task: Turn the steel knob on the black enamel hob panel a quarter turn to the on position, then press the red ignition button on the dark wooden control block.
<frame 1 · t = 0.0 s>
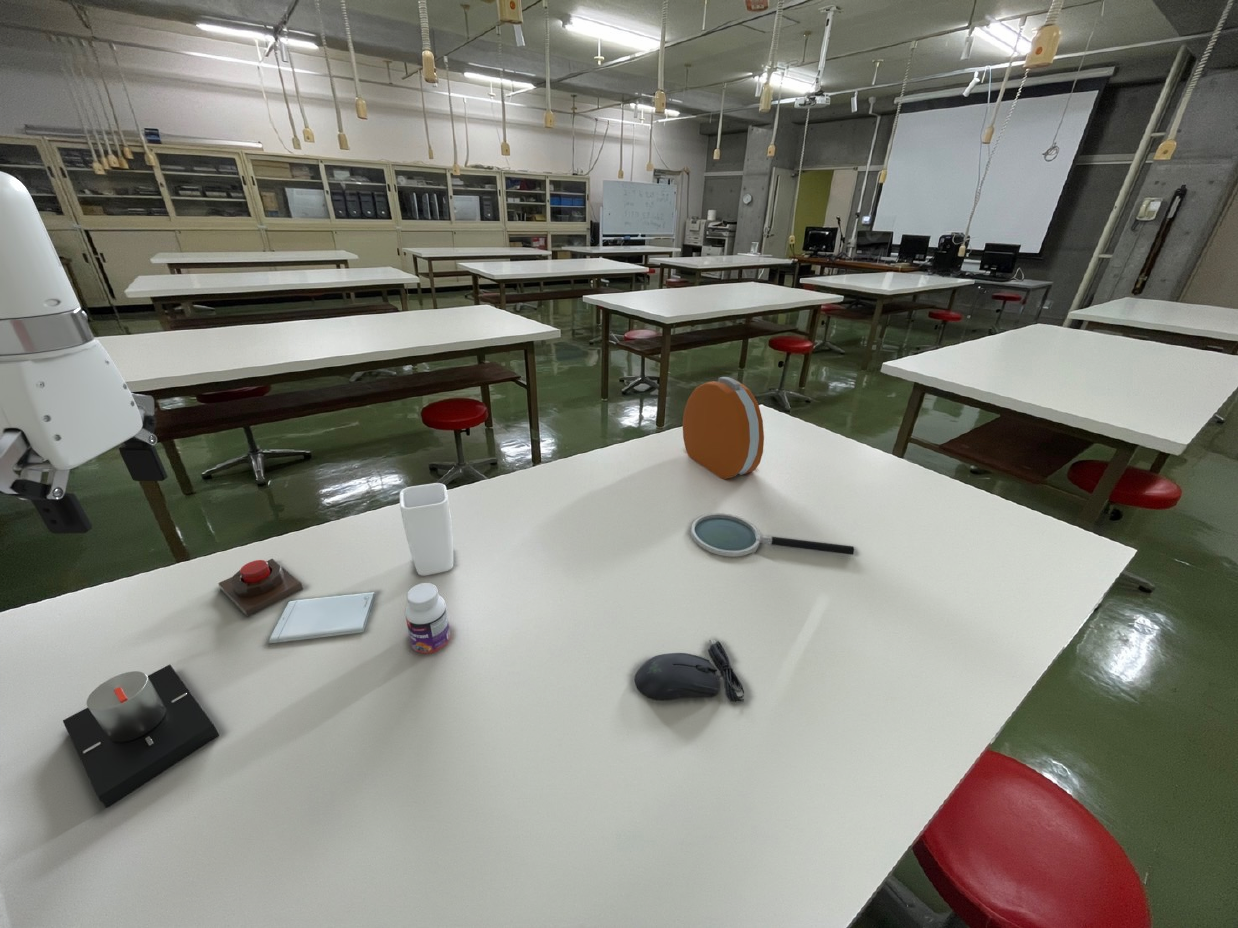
hand: (115, 503, 50), 29 cm above the table, tool pointing down, fingers open, 9 cm apart
hob: (148, 738, 59), on the table
ignition: (263, 593, 81), on the table
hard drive: (327, 622, 76), on the table
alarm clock: (719, 463, 129), on the table
hob knob: (127, 705, 56), point 6 cm above the table, hinge at 0.0°
pill bottle: (432, 643, 73), on the table
magnifying glass: (769, 545, 98), on the table
cup: (435, 567, 88), on the table
computer mouse: (684, 681, 69), on the table
ignition button: (255, 571, 79), point 5 cm above the table, slide at 0.2 cm
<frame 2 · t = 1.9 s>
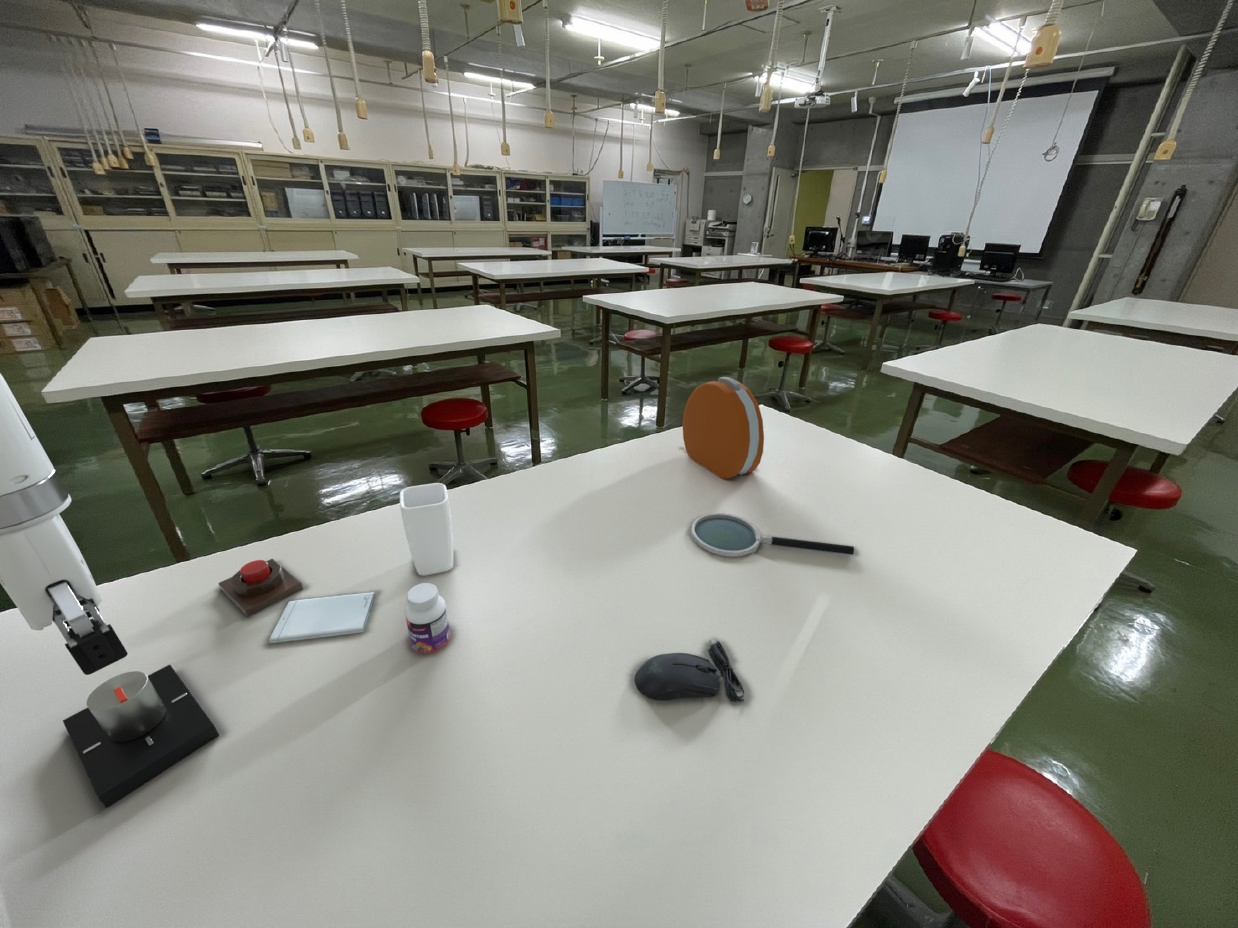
hand: (93, 641, 52), 16 cm above the table, tool pointing down, fingers open, 9 cm apart
nothing on the table moved.
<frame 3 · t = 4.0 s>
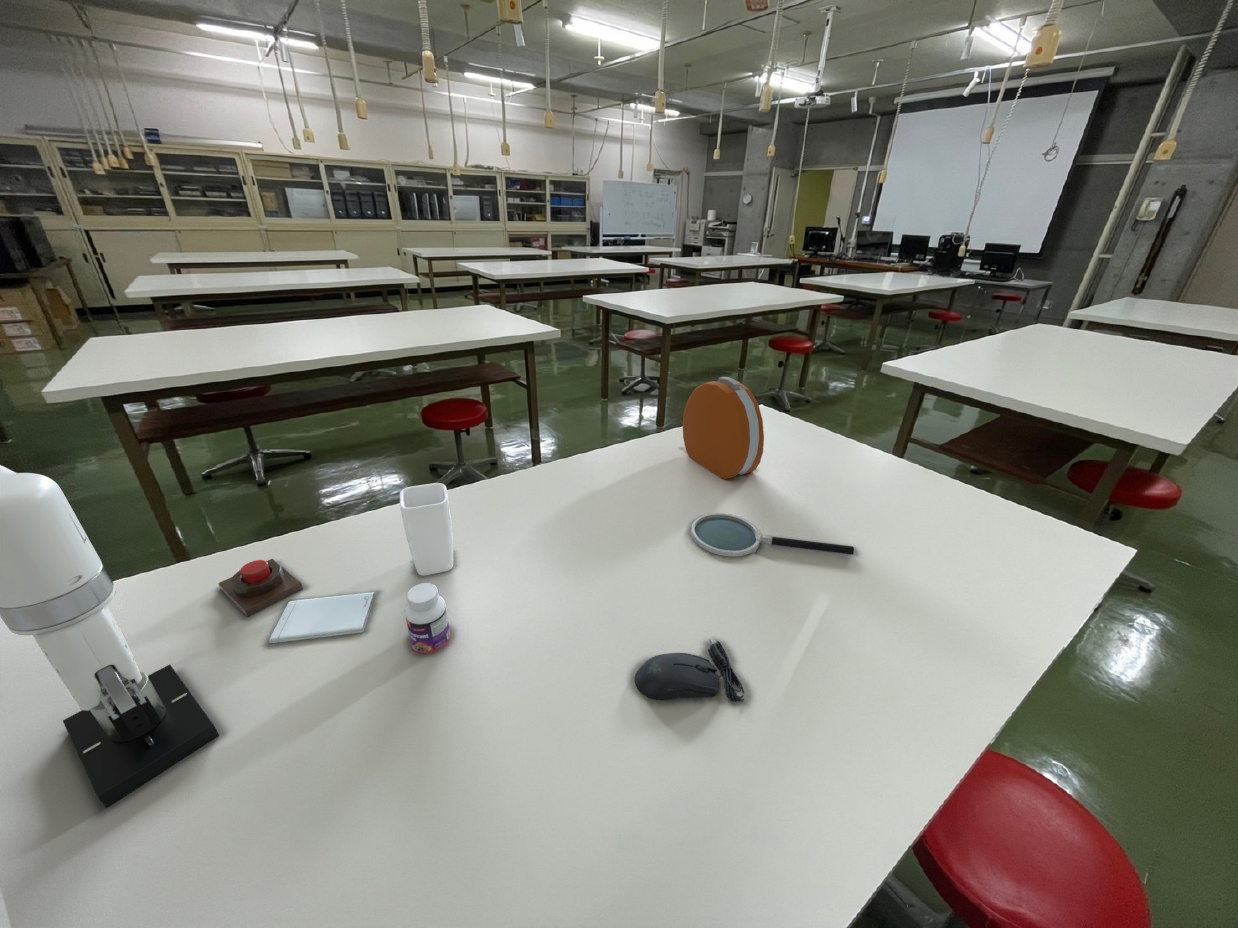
hand: (133, 715, 57), 4 cm above the table, tool pointing down, fingers closed on hob knob, 5 cm apart
hob knob: (127, 705, 56), point 6 cm above the table, hinge at -0.2°, touching gripper
everything else where it was.
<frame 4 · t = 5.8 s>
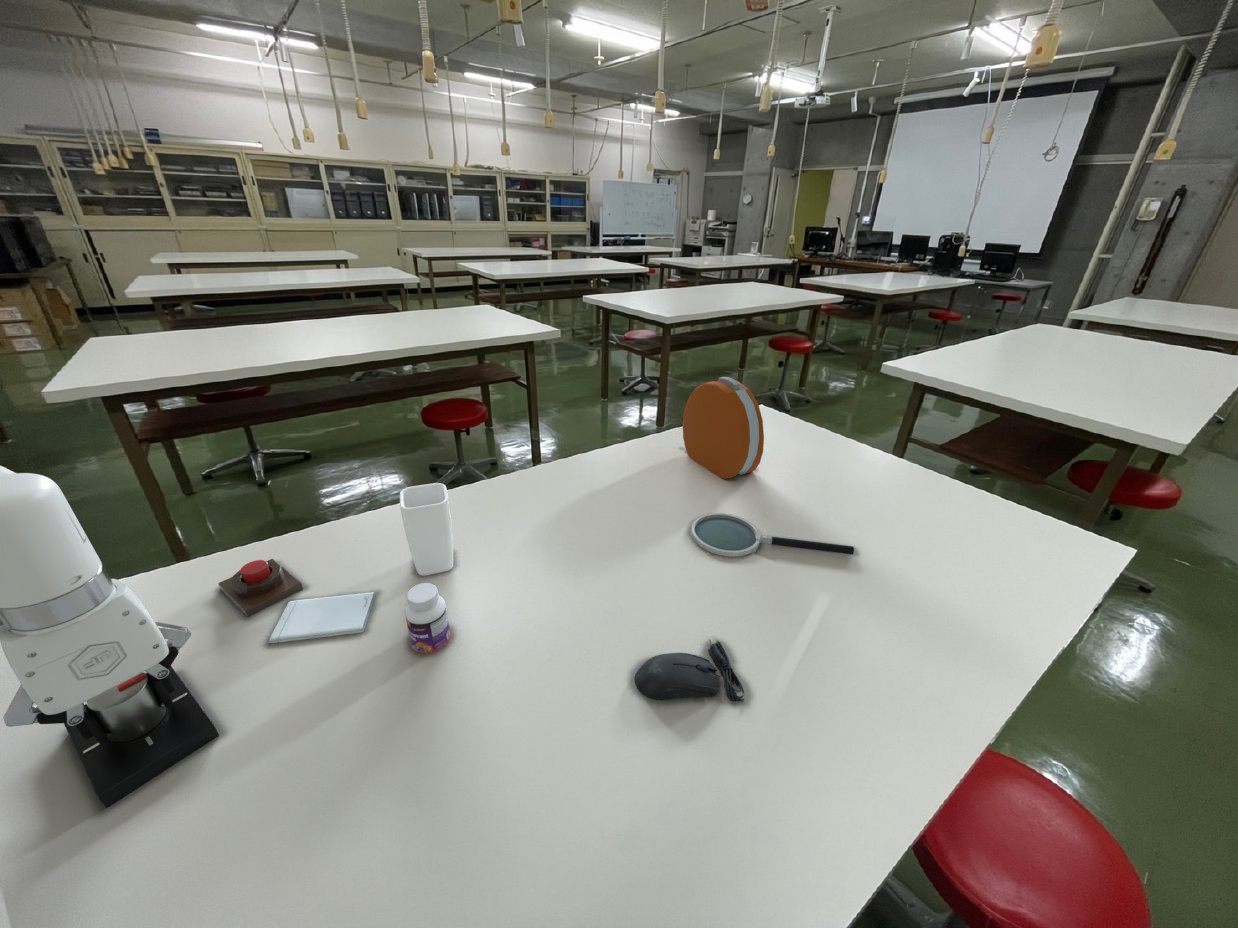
hand: (134, 715, 57), 4 cm above the table, tool pointing down, fingers closed on hob knob, 5 cm apart
hob knob: (127, 705, 56), point 6 cm above the table, hinge at 90.1°, touching gripper
everything else where it was.
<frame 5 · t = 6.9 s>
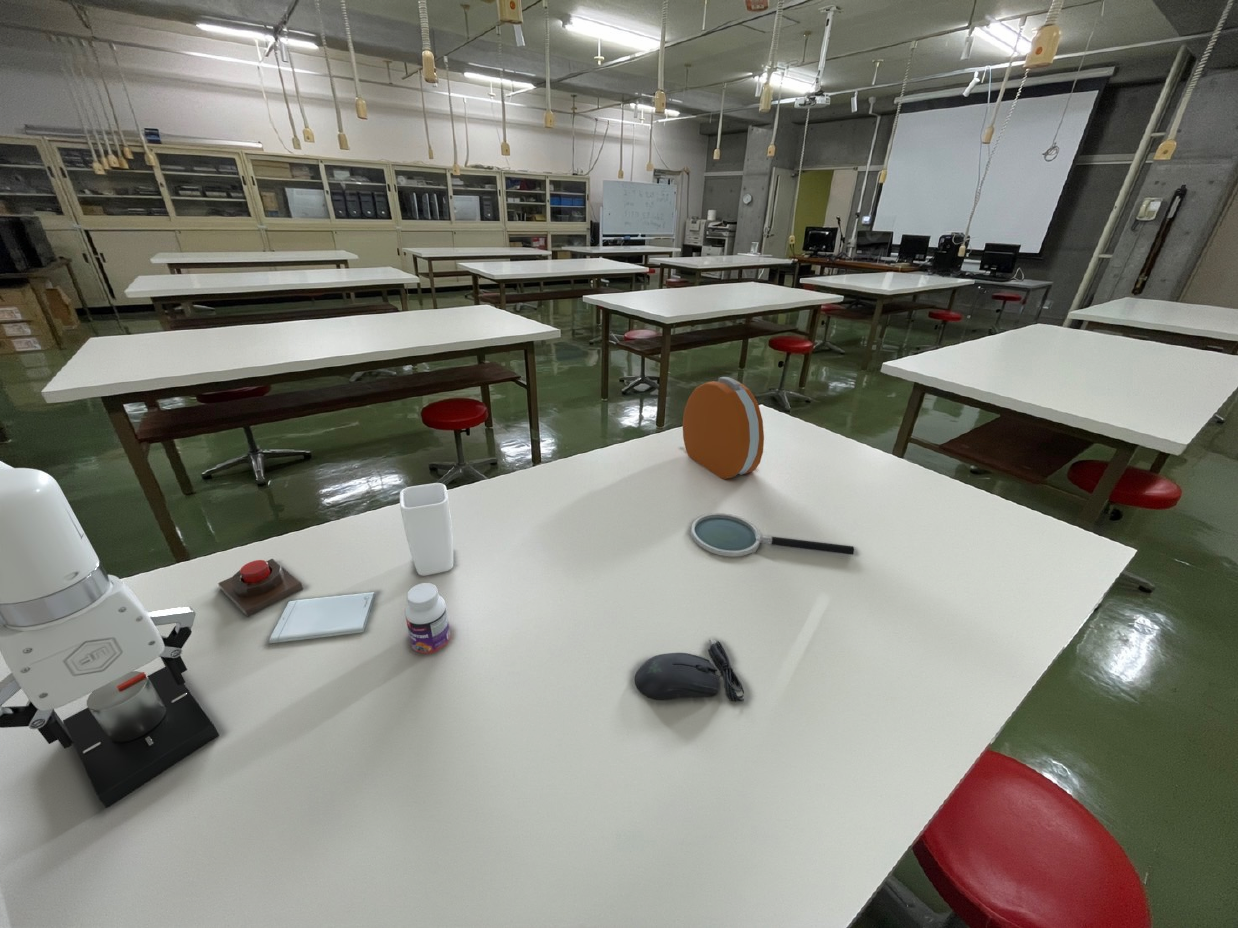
hand: (125, 706, 56), 6 cm above the table, tool pointing down, fingers open, 9 cm apart
hob knob: (127, 705, 56), point 6 cm above the table, hinge at 91.6°
everything else where it was.
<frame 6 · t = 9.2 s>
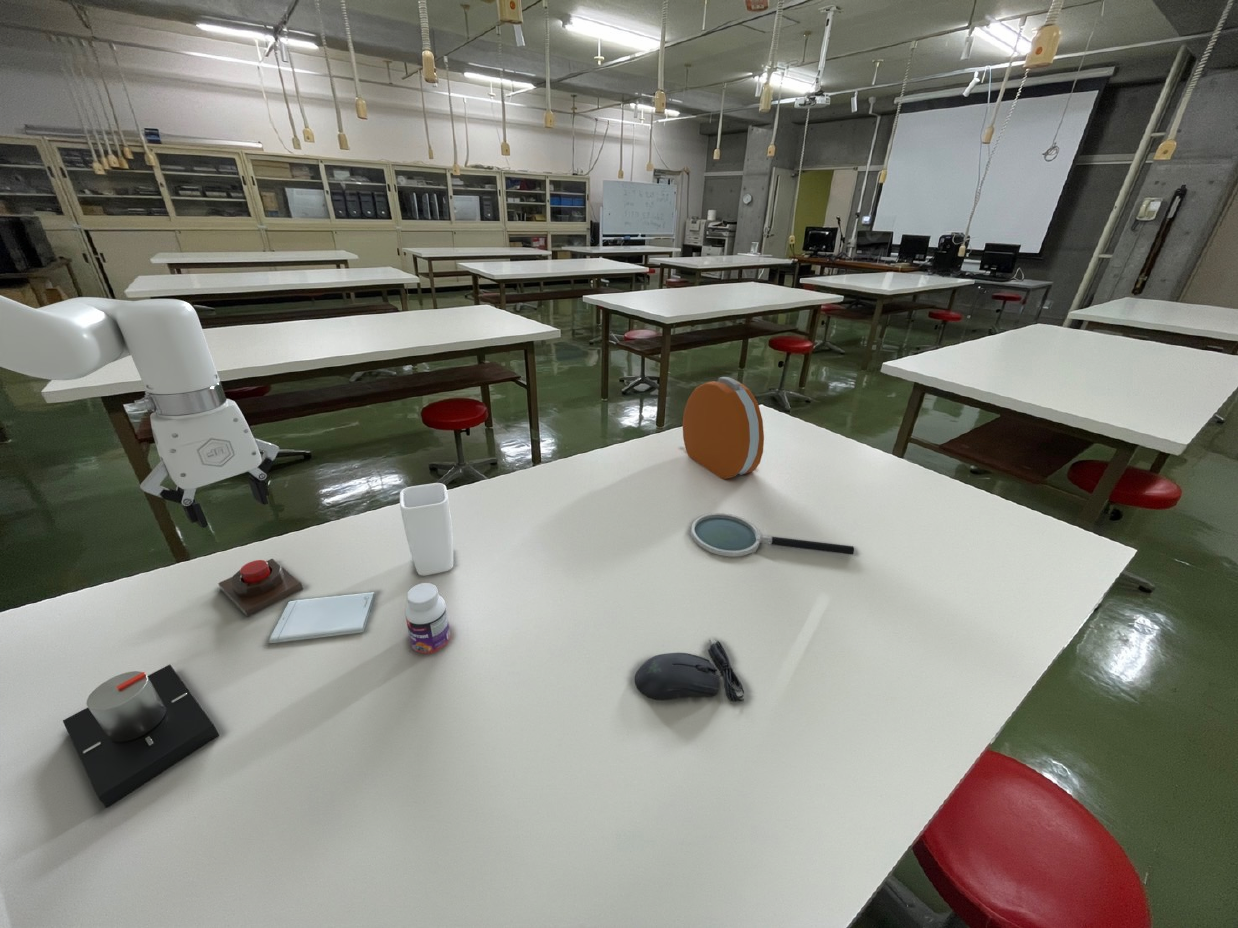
hand: (232, 511, 74), 16 cm above the table, tool pointing down, fingers open, 7 cm apart
nothing on the table moved.
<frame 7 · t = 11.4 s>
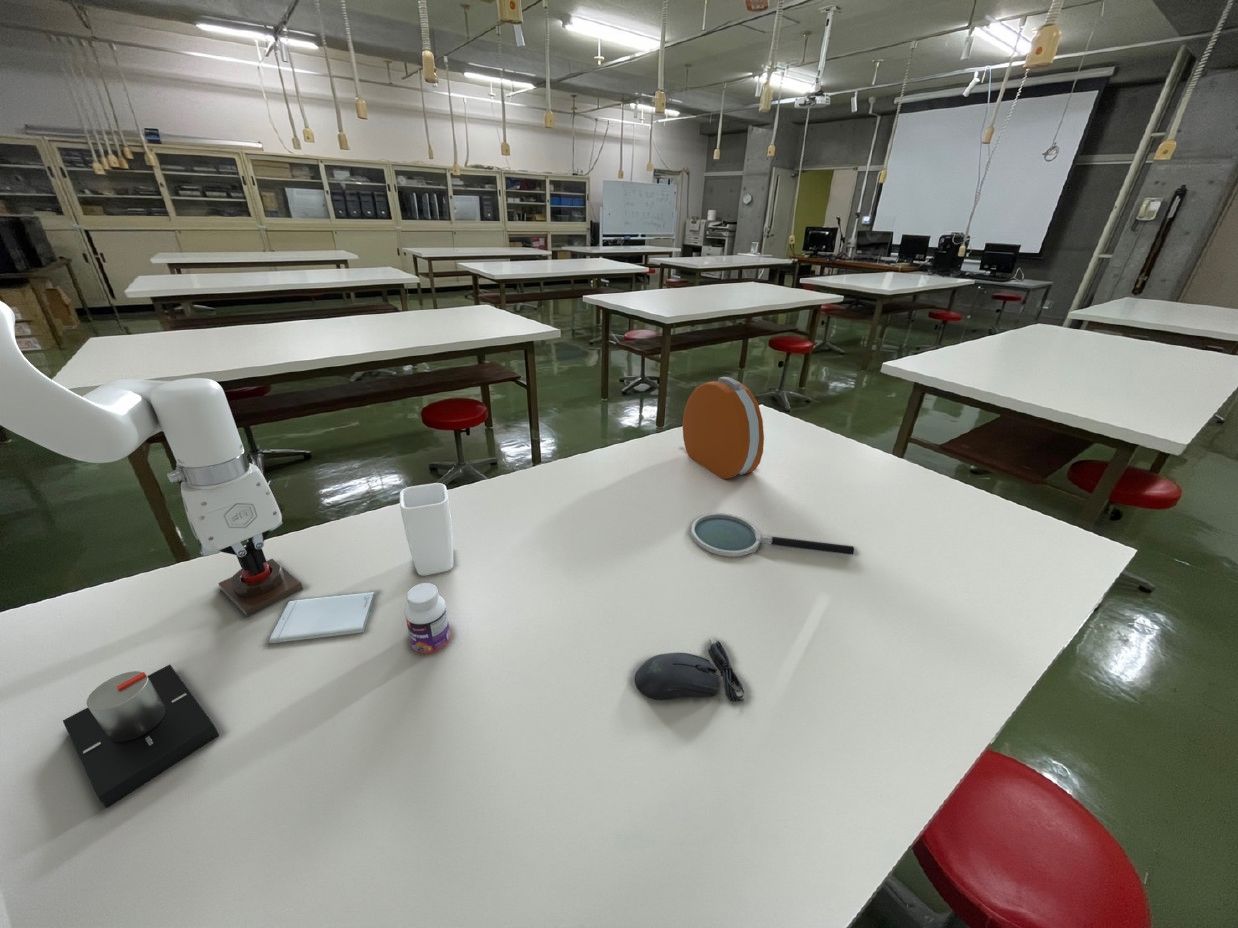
hand: (255, 569, 79), 5 cm above the table, tool pointing down, fingers closed
ignition button: (256, 574, 79), point 4 cm above the table, slide at -0.4 cm, touching gripper
everything else where it was.
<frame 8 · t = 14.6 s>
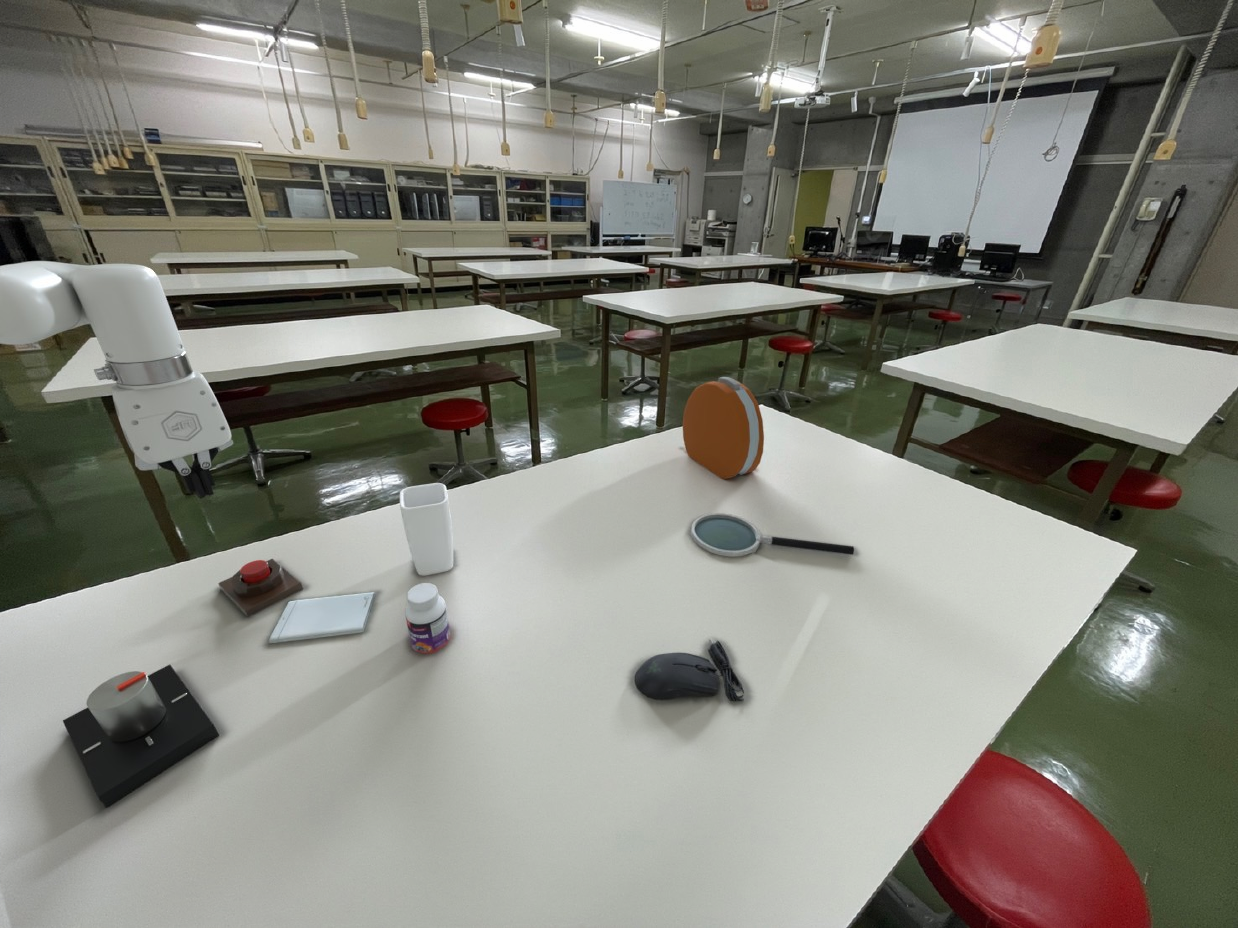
hand: (203, 493, 72), 19 cm above the table, tool pointing down, fingers closed
ignition button: (255, 571, 79), point 5 cm above the table, slide at 0.1 cm
everything else where it was.
at the end: hob knob at +92° (first picture: +0°); ignition button pushed in 1.1 cm at the most during the clip, back to where it started at the end; ignition button slide at 0.1 cm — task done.
